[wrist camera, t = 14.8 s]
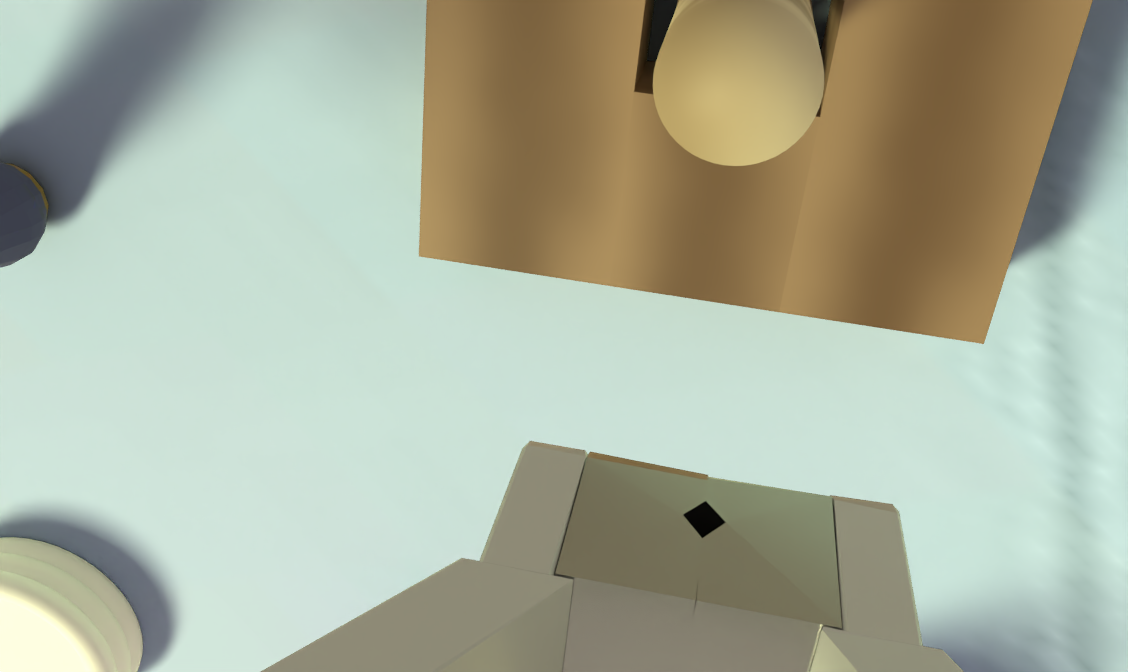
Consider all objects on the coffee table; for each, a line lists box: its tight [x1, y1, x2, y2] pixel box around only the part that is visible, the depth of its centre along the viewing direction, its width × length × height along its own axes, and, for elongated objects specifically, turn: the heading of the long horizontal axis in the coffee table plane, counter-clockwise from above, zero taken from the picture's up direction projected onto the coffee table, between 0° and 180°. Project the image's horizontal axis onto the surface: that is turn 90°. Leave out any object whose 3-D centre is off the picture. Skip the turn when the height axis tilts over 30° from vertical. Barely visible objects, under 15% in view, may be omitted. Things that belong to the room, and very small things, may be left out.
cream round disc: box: [0, 537, 143, 672], centre depth 50 cm, size 10×10×4 cm
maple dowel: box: [653, 0, 824, 166], centre depth 28 cm, size 4×4×12 cm
